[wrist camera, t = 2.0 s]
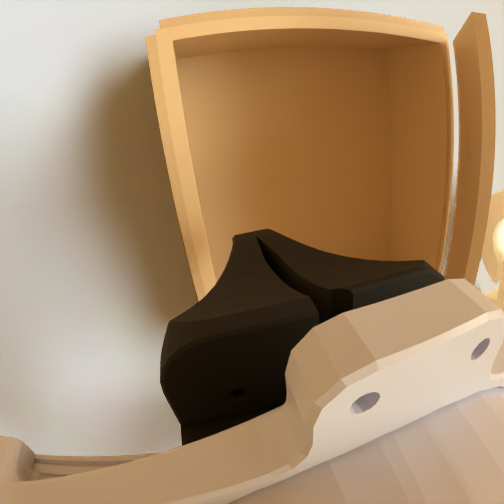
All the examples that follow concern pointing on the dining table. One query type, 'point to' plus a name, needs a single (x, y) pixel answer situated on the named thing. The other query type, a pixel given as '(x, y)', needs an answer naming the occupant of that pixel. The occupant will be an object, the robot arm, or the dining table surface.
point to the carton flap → (472, 147)
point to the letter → (495, 247)
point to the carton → (306, 132)
